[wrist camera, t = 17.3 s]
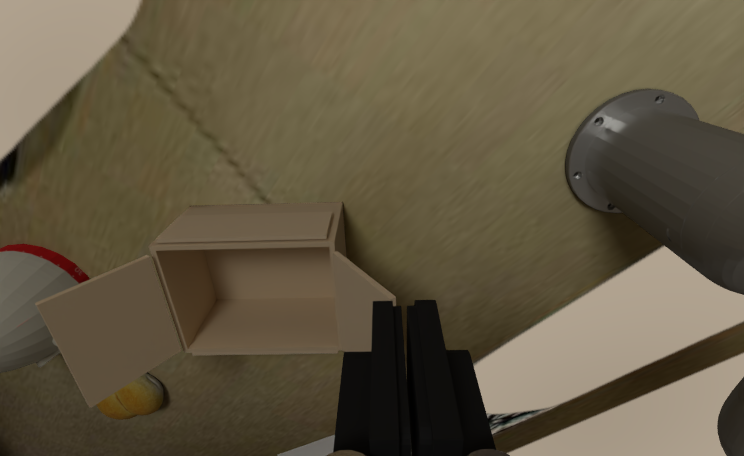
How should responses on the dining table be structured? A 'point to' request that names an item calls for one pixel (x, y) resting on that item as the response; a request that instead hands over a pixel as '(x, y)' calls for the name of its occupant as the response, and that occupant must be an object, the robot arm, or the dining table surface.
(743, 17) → the dining table surface
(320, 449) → the milk
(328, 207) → the carton
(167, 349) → the flap
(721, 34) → the dining table surface
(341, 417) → the robot arm
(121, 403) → the bread roll
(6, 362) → the kitchen timer
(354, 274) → the flap
